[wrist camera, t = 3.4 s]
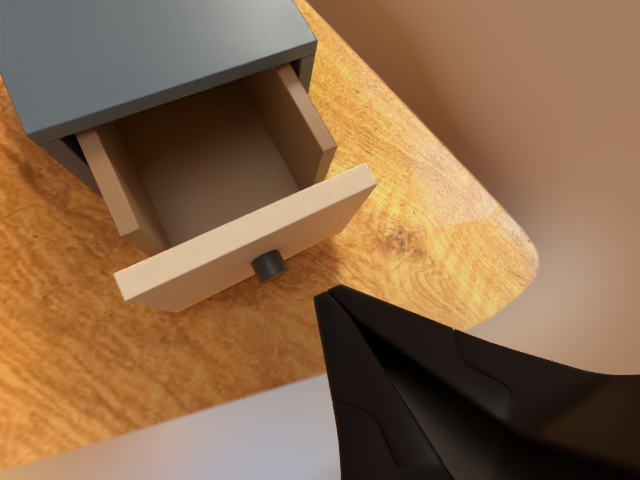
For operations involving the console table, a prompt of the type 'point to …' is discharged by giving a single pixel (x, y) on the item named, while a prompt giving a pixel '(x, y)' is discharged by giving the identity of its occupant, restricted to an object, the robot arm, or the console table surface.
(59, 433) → the console table surface
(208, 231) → the drawer
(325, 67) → the console table surface
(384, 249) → the console table surface
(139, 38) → the cabinet
